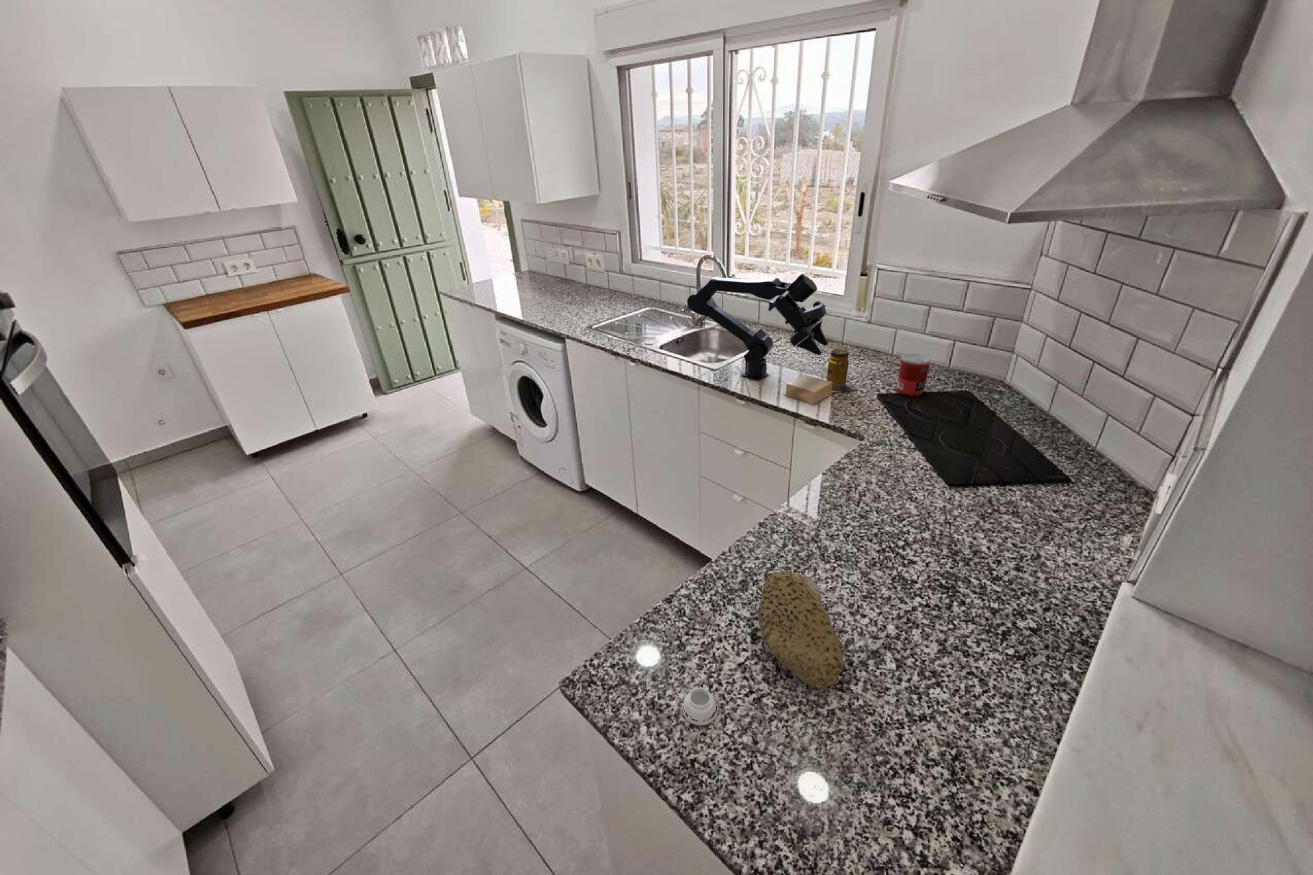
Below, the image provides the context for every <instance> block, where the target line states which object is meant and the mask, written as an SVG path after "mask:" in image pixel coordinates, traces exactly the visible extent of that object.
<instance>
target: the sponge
mask: <svg viewBox="0 0 1313 875" xmlns="http://www.w3.org/2000/svg"><path fill="white" fill-rule="evenodd" d="M757 614H758V616H757V620H758V625H759V627H760V630H761V636H762V639H763V642H764V643H765V644H766V646H768V648H769V650H770V652H771V654H772V655H773V656H774V657H775V659H776V660H777V661H778V662H779V664H781V665H782V666H783V667H784V668H785V669H786V670H788V671H790V672H791V673H792V674H793V675H794V676H796V677H797V678H798V679H799V680H801V681H802V682H803V683H804V684H806V685H809V686H812V687H813V688H815V689H826V688H828V687H831V686H834V685H836V683H838V678H839V675H840V674H841V673H842V672H841V671H842V670H843V669H844V666H845V662H844V657H843V651H842V649H841V648H842V647H841V642H840V640H839V639H838V636H837V634H836V633H835V631H834V629H833V624H832V623H831V618H830V616H829V615H828V613H827V611H826V609H825V608H824V607H823V598H822V595H821V593H820V586H819V584H818V583H817V582H815V581H814V580H813V579H812V578H810V577H808V576H805V575H802V574H800V573H794V572H792V571H790V570H780V571H773V572H772V573H770V575H768V577H767V578H766V580H765V584H764V585H763V588H762V590H761V594H760V603H759V609H758V613H757Z"/></svg>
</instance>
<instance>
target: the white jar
mask: <svg viewBox="0 0 1313 875" xmlns="http://www.w3.org/2000/svg"><path fill="white" fill-rule="evenodd" d="M684 699H685V700H684ZM684 699H683V701H682V705H681V710H682V714H683V717H684V718H685V719H686V721H688V723H691V724H692V725H695V726H700V727H701V726H707V725H709V724H711V723H713V721H715V719H716V718H717V716H718V713H719V705H718V704H717V705H716V702H717V703H718V701H717V700H716V698H715V697H714V695H713V694H712V693H711V692H710V691H709V690H708V689H707V688H705V687H699V686H698V687H695V688H693V689H692V690H691V691H690V692H688V694H687V695H686V696H685V697H684ZM715 700H716V701H715ZM683 702H684V703H683ZM683 704H684V705H683ZM683 706H684V710H685V712H686V713H687V714H688V715H689V716H691V718H692V719H695V720H699V721H701V720H704V719H709V717H711V716H712V715H713V713H714V712H715V710H716V706H717V712H716V714H715V715H714V717H713V718H712V719H710V720H708V721H706V722H696V721H693V720H691V719H690V718H688V717H687V716H686V714H685V712H684V710H683Z"/></svg>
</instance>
